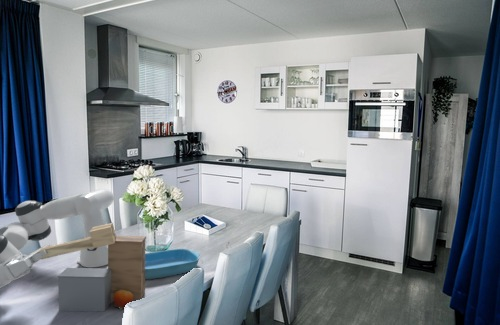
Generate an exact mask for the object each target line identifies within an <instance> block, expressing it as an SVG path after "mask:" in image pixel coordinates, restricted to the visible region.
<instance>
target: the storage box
mask: <svg viewBox="0 0 500 325" xmlns="http://www.w3.org/2000/svg"><path fill="white" fill-rule="evenodd" d="M111 270H112V269H108V268H99V267H66V268H65V269H64V270H63V271H62V272H61V273H59V274H58V275H57V279H58V280H57V281H58V283H57V284H58V311H59V312H66V311H67V312H105V311H106V310H107V308H108V307H109V305H110V304H111V303H112V299H111Z"/></svg>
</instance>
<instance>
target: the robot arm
mask: <svg viewBox="0 0 500 325" xmlns="http://www.w3.org/2000/svg"><path fill="white" fill-rule="evenodd" d="M114 200H115V196H114V194H113V192H112V191H111V190H109V189H105V188H104V189H103V188H102V189H101V188H99V189H96V190H92V191H87V192H82V193H78V194H74V195H70V196H65V197H60V198H56V199H52V200H50V201H49V202H47V203H44V204H43V203H42V202H41V201H37V200H33V199H32V200H31V199H30V200H25V201H23V202H21V203H19V204H17V206H16V207H15V209H14V212H15V215H16V216H17V218H18V220H19V221H18V222H17V221H16V222H12V223H10V224H8V225H7V226H3V227H1V228H0V289H1V288H3V287H5V286H8V285H9V284H10V283H12V282H13V281H15V280H18V279H20V278H22V277H24V276H26V275H28V274H29V273H30V272H31V270H32V268H33V265H35V264H37V263H38V262H39V261H41V260H42V259H41V257H43V256H44V255H46V254H47V253H48V252H47V250H44V251H42V252H40V253H39V250H40V249H41V248H44V247H48V246H53V245H54V244H51V245H50V243H47V244H45V245H43V246H41V247H39V248H38V249H36V250H34V251H32V252H31V253H29V254H28V255H27V254H23V253H22V252H21V251H20V250H22V249H23V248H24V247H25V246H26V245H27V244H28V241H32V242H33V241H34V242H38V241H42V240H44V239H46V238H48V237H49V236H50V235H51V233H52V229H51V225H50V224H49V221H48V220H52V221H53V220H63V219H68V218H75V217H78V216H80V217H81V219H82V223H83V238H82V239H84V238H88V237H91V236H90V230H91V229H92V228H93V227H96V226H101V225H105V224H107V220H105V219H104V217H103V216H102V211H104V210H105V209H108V208H109V207H110V206H111V205H112V204H113V202H114ZM79 251H80V253H79V254H80V255H79V259H78V260H77V264H80V265H81V266H82V267H83V268H99V267H103V266H106V265H107V266H108V245H106V246H101V247H97V248H93V247H92V248H88V249H84V250H79Z"/></svg>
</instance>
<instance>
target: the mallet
mask: <svg viewBox="0 0 500 325" xmlns="http://www.w3.org/2000/svg"><path fill="white" fill-rule="evenodd" d="M90 236H91V237H88V238H84V237H83V238H84V239H83V238H80V239H75V240H71V241H67V242H63V243H62V242H61V243H58V244H55V245H54V244H52V245H53V246H51V245H50V246H48V247H44V248H41V247H40V248H41V249H40V250H39V253H40V252H42V251H44V250H47V252H48V253H47V254H46V255H44V256H43V257H41V259H40V260H46V259H50V258H54V257H58V256H61V255H66V254H70V253H74V252H79V251H80V250H84V249H88V248H92V247H93V248H97V247H101V246H106V245H110V244H114V243H115V241H116V230H115V226H114V222H111V223H106V224H105V225H101V226H96V227H93V228H92V229H91V230H90Z"/></svg>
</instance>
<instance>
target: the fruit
mask: <svg viewBox="0 0 500 325" xmlns="http://www.w3.org/2000/svg"><path fill="white" fill-rule="evenodd" d="M133 297H134V296H133V294H132V293H131V292H130V291H126V290H119V291H116V292H115V294H114V297H113V299H112V301H113V305H114V308H119V309H120V311H122V309H124V307H125V305H126V304H127V303H129V302H131V303H132V302H133V301H134V300H133ZM125 308H126V307H125Z"/></svg>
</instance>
